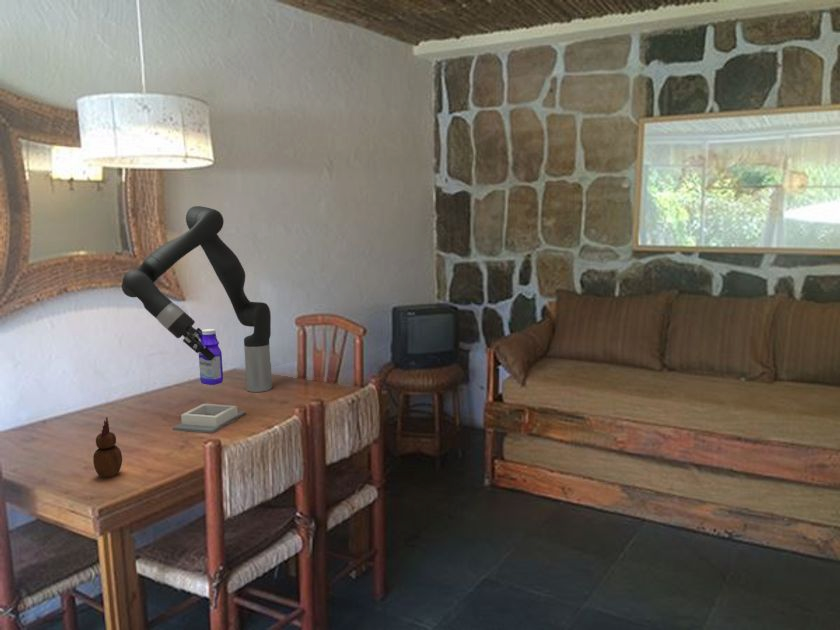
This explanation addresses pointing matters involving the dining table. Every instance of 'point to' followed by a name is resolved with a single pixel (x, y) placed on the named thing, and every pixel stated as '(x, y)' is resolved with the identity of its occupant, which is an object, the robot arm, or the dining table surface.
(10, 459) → the dining table surface
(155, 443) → the dining table surface
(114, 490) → the dining table surface
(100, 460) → the wooden figurine
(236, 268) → the robot arm
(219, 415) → the bottle stand
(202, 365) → the bottle
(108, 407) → the dining table surface
